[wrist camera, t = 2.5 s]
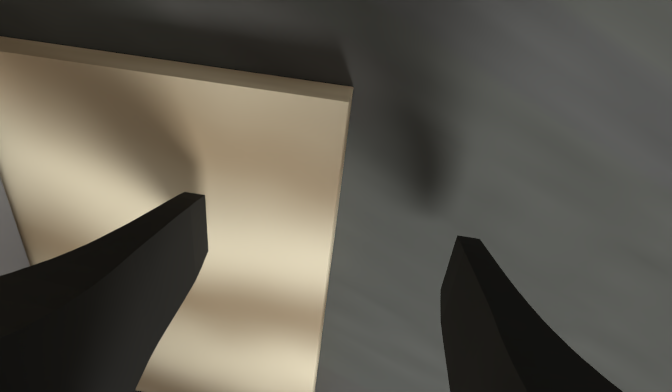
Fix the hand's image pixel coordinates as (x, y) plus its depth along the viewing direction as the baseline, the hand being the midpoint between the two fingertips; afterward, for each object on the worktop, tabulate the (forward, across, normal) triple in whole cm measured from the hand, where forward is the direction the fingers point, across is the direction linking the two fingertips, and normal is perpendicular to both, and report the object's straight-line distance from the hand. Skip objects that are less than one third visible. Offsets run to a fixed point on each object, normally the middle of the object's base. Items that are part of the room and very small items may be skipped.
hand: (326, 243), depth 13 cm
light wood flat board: (+2, +11, +3) cm, 11 cm away
